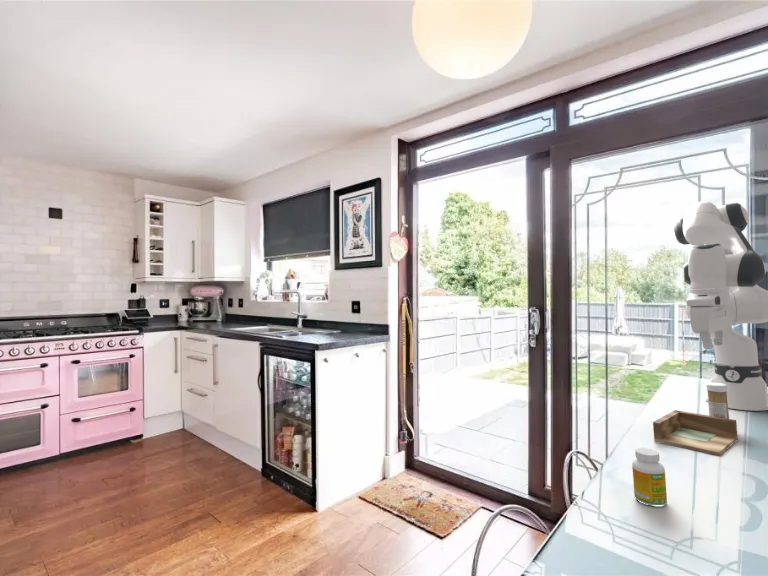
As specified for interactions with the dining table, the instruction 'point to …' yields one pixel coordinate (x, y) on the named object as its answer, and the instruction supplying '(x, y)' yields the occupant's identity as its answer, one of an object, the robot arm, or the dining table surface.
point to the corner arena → (696, 431)
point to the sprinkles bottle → (717, 400)
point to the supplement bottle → (649, 477)
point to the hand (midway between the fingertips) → (713, 346)
